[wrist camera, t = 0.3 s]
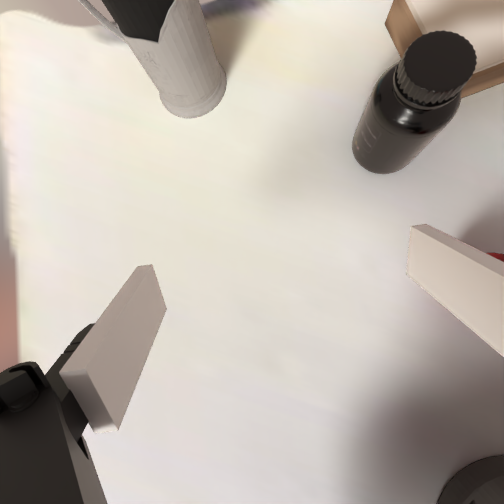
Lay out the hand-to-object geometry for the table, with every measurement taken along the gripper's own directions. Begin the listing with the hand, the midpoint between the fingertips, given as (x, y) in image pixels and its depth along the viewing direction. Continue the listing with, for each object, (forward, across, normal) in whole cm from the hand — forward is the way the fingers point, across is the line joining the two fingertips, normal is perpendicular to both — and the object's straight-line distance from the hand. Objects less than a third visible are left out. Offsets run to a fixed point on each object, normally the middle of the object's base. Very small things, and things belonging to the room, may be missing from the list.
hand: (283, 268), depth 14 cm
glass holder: (+29, +8, -14) cm, 33 cm away
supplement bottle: (+20, -14, -3) cm, 25 cm away
